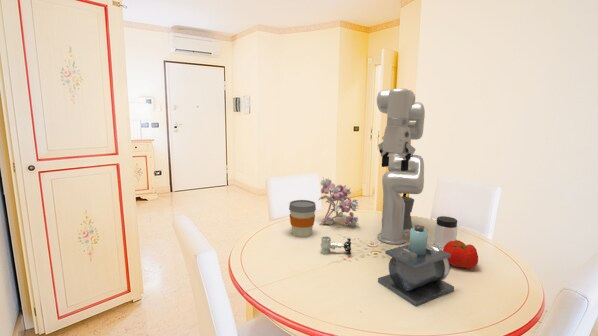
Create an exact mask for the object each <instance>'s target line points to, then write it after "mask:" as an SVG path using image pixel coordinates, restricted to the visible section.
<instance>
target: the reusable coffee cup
mask: <svg viewBox="0 0 598 336" xmlns="http://www.w3.org/2000/svg"><path fill="white" fill-rule="evenodd" d="M288 210H289V222H290V225H291V232H292V236H294V237H297V238H308V237H311V236H312V233H313V232H312V231H313V227H314V224H315V218H316V214H315V213H316V210H317V207H316V202H315V201H313V200H307V199H296V200H292V201H290V202H289V206H288Z"/></svg>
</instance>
